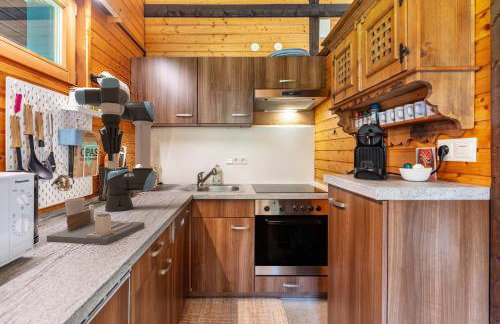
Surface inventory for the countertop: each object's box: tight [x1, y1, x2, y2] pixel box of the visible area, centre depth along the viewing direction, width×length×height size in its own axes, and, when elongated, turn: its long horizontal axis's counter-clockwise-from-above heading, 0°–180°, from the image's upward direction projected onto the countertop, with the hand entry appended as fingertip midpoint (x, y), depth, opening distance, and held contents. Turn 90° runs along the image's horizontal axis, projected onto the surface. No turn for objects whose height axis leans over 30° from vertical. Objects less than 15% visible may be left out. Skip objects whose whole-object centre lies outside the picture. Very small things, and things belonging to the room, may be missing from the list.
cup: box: [64, 197, 86, 216], centre depth 129 cm, size 8×8×12 cm
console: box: [46, 204, 145, 245], centre depth 115 cm, size 24×26×10 cm
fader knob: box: [94, 213, 112, 235], centre depth 107 cm, size 4×4×7 cm
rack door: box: [66, 209, 91, 230], centre depth 118 cm, size 2×12×6 cm, turn 170°
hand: (112, 168), depth 122 cm, fingers closed
